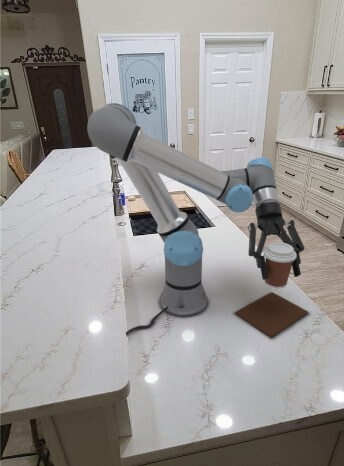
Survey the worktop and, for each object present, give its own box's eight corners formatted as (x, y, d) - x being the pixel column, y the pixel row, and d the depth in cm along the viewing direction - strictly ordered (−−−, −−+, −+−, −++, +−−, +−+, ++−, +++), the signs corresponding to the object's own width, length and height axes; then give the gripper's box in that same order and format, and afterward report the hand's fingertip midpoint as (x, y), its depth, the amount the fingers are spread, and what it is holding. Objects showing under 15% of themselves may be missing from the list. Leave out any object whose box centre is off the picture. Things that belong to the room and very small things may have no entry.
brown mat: (271, 338, 94) (271, 336, 93) (235, 313, 104) (235, 311, 103) (307, 313, 103) (308, 311, 103) (271, 293, 113) (272, 291, 113)
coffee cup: (297, 287, 97) (304, 251, 91) (271, 294, 94) (276, 257, 88) (279, 272, 104) (284, 238, 98) (254, 278, 101) (258, 243, 96)
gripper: (295, 209, 105) (311, 277, 99) (229, 213, 103) (241, 283, 97) (306, 198, 98) (324, 270, 92) (236, 202, 96) (249, 277, 90)
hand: (281, 277), depth 94 cm, fingers closed on coffee cup, 9 cm apart
